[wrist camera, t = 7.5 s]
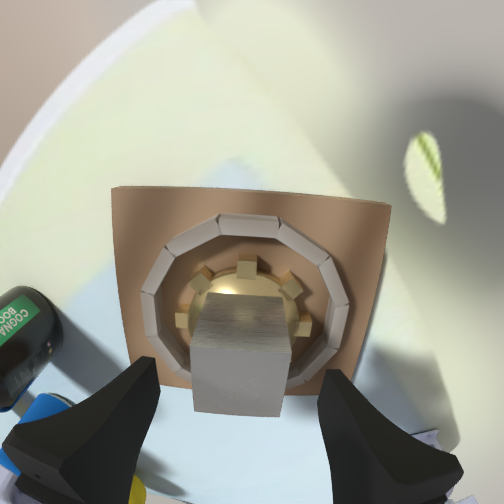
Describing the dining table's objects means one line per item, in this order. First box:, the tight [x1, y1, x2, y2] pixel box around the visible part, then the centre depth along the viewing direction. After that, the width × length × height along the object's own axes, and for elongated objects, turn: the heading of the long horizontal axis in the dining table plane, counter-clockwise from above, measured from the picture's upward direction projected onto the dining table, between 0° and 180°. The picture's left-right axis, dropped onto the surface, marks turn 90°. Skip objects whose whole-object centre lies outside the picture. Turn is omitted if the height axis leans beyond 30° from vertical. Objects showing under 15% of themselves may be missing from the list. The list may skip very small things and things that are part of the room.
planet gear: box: [175, 253, 312, 417], centre depth 15 cm, size 8×8×6 cm
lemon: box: [128, 474, 146, 504], centre depth 23 cm, size 6×6×8 cm
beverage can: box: [0, 393, 72, 477], centre depth 18 cm, size 6×6×12 cm
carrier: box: [111, 186, 392, 395], centre depth 17 cm, size 16×14×3 cm
